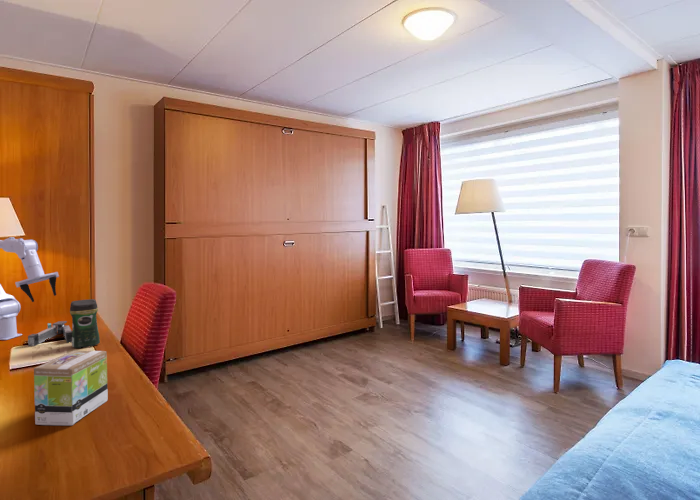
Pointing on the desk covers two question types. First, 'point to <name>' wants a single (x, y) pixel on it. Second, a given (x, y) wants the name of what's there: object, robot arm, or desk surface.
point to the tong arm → (44, 334)
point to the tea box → (70, 387)
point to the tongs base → (65, 332)
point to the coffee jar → (84, 323)
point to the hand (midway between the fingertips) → (44, 298)
